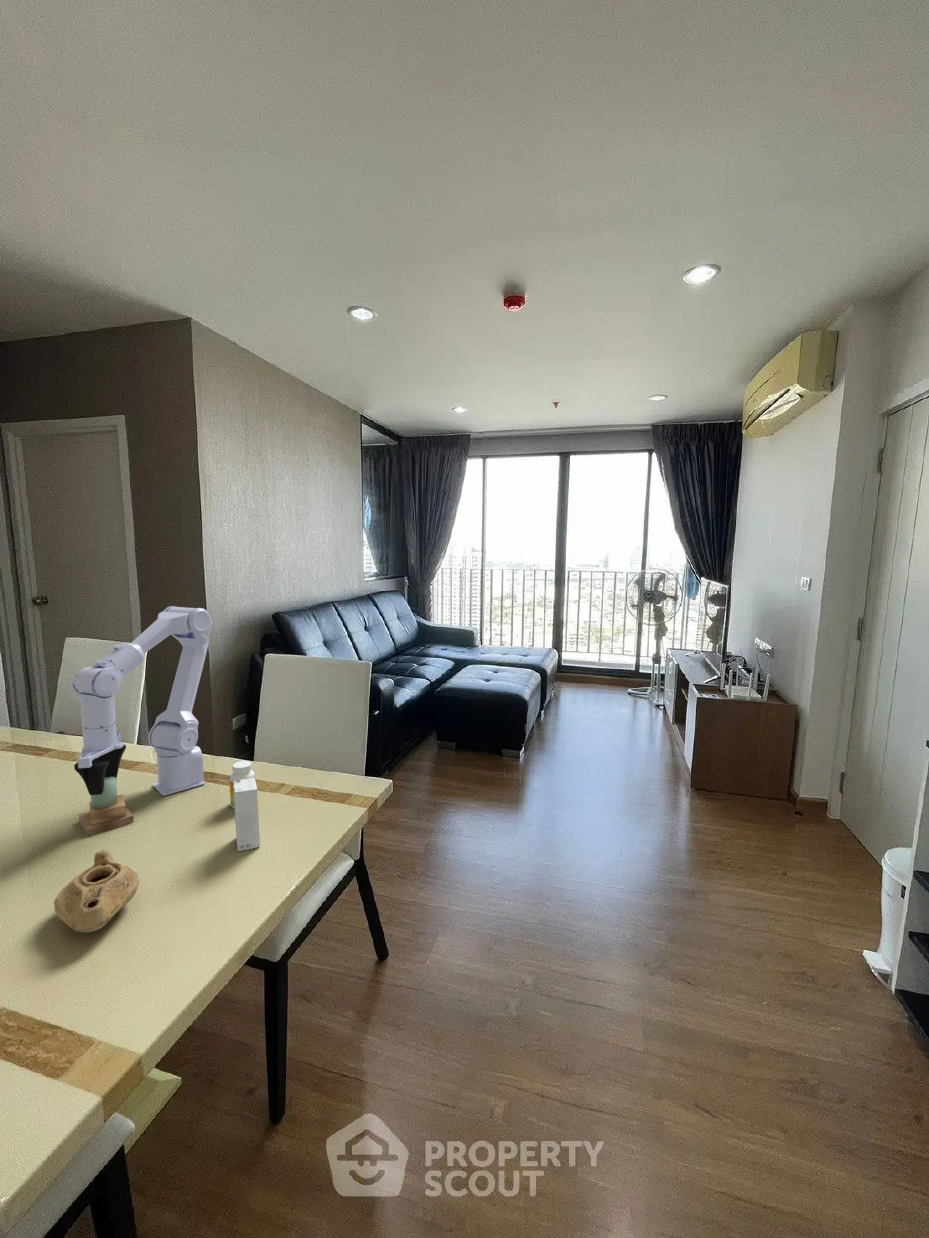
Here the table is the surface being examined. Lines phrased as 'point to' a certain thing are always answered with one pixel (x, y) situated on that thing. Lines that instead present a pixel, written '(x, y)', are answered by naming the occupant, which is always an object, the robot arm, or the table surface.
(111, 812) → the top block
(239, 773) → the supplement bottle
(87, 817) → the base block
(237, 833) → the skincare box
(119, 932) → the table surface
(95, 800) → the green cylinder
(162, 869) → the table surface
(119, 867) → the oil lamp
